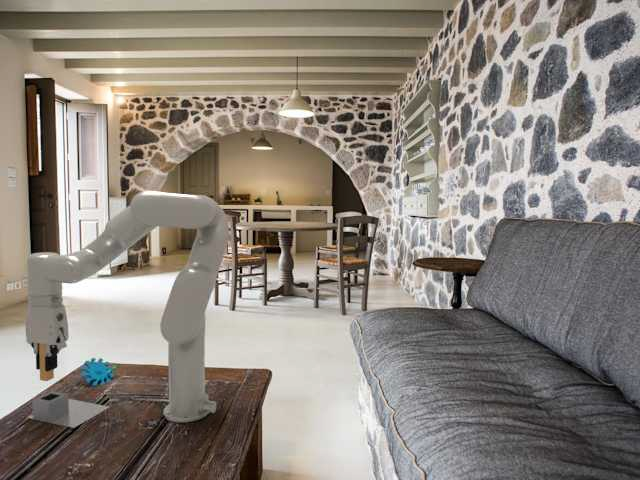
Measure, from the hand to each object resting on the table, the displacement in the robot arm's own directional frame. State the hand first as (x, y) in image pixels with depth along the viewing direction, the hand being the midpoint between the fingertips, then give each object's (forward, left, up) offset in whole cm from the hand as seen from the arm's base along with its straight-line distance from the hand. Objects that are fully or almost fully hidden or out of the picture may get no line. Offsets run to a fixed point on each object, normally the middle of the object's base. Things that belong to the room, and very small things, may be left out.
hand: (46, 368), depth 118 cm
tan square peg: (0, 0, -3) cm, 3 cm away
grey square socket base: (-3, -3, -14) cm, 15 cm away
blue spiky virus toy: (+5, -22, -14) cm, 27 cm away
